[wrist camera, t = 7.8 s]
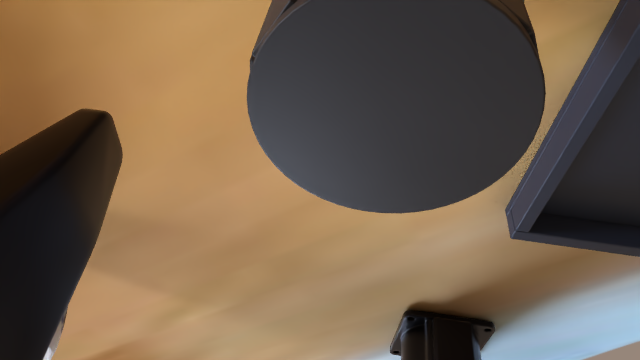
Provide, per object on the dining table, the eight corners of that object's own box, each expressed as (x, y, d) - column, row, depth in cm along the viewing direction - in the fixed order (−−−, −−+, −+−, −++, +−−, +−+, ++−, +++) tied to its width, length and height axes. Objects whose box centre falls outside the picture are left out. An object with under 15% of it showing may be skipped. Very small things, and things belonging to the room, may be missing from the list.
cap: (472, 133, 12) (486, 229, 10) (274, 105, 12) (249, 195, 10) (558, -79, 9) (606, 3, 7) (280, -115, 9) (241, -46, 7)
